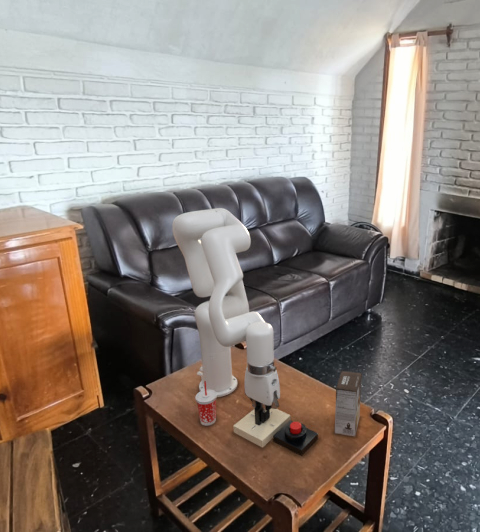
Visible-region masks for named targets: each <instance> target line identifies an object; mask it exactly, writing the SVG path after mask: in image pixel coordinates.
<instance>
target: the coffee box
mask: <svg viewBox="0 0 480 532" xmlns="http://www.w3.org/2000/svg"><path fill="white" fill-rule="evenodd" d="M362 378H363V373H360V372H354V371H343V370H341V372H340V375H339V378H338V380H337V381H338V382H337V385H336V388H335V413H334V434H338V435H343V436H351V437H356V434H357V430H358V427H359V421H360V417H361V416H360V415H361V414H360V413H361V397H362V396H361V395H362V380H363V379H362Z"/></svg>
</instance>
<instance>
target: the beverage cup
mask: <svg viewBox="0 0 480 532" xmlns="http://www.w3.org/2000/svg"><path fill="white" fill-rule="evenodd" d="M204 386H205V390H202V391H200V390H199V391H198V392H197V393H196V394H195V402H196V404H197V410H198V416H199V423H200V425H202V426H206V427H207V426H208V427H209V426H212V425H213V424H215V423H216V421H217V398H218V397H217V394H216V392H215V391H214V390H206V381H204Z"/></svg>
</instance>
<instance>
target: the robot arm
mask: <svg viewBox="0 0 480 532" xmlns="http://www.w3.org/2000/svg"><path fill="white" fill-rule="evenodd" d="M171 226H172V228H171V229H172V235H173V238H174V241H175V242H176V245H177V247H178V249H179V250H180V252H181V254H182V255H183V258H184V261H185V267H186V269H187V273H188V278H189V281H190V284H191V288H192V291H193V293H194V295H195V296H196V297H198V298H208V297H209V300H206V301H204V302H202V303H200V304H199V305H197V306H196V307H195V310H194V312H193V313H194V315H193V316H194V321H195V324H196V327H197V332H198V338H199V347H200V355H201V356H200V359H201V366H200V367H199V371H197V373H196V376H199V377H201V380H200V382H199V383H198V390H199V392H200V391H202V390H205V386H204V381H206V390H214V391H215V392H216V394H217V398H222V397H225V396H228V395H230V394H232V393H233V392H234V391H235V390H236V389H237V388H238V379H237V378H236V376H234V375H233V368H232V367H233V366H232V350H231V349H232V348H231V347H233V346H236V345H239V344H241V343H244V342H245V346H246V348H245V349H246V368H245V372H244V381H243V382H244V383H243V384H244V395H245V396H247V398H249V400H250V402H251V403H252V404H251V405H252V408H253V409H256V408H257V407H259V406H260V405H261V404H262V411H261V422H262V423H264V422H265V421H266V420H268V419H269V418H270V409H278V408H280V403H279V400H280V398H281V386H280V379H279V374H278V371H277V370H278V369H277V366H275V342H274V341H275V340H274V339H275V337H274V336H275V335H274V333H275V332H274V328H273V326H272V325H271V324H270V323H268V322H267V321H265V320H264V319H263V317H262V315H261V314H259V313H258V312H257V311H250V306H249V301H248V297H247V293H246V289H245V286H244V285H245V284H244V281H243V278H244V272H243V270H242V268H241V264H240V261H239V259H238V256H237V254H238V253H242V252H246V251H248V250H249V248H251V243H252V239H251V235H250V232H249V231H248V229H247V227H246V226H245V225H244V224H243V223H242V221H240V220H239V219H238V218H237V217H236V216H235V215H234V214H232V212H231V211H229V210H228V209H226V208H224V207H218V208H217V207H216V208H208V209H201V210H194V211H189V212H184V213H181V214H179V215H177V216H175V218H174V219H173V221H172V225H171Z"/></svg>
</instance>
